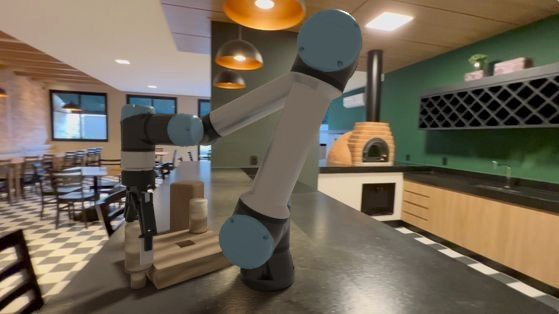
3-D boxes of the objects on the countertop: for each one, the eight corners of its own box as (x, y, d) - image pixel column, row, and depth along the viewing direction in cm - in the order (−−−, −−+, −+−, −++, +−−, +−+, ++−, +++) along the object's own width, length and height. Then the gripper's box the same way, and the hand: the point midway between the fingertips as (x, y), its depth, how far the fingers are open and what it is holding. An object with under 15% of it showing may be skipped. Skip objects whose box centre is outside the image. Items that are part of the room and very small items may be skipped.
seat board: (239, 262, 83) (240, 210, 82) (158, 289, 66) (158, 225, 65) (203, 239, 100) (203, 196, 99) (131, 256, 84) (131, 206, 83)
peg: (155, 286, 68) (155, 225, 67) (128, 295, 64) (127, 230, 63) (147, 276, 72) (147, 219, 71) (121, 284, 68) (121, 224, 67)
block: (192, 237, 103) (192, 184, 101) (168, 234, 105) (168, 183, 103) (204, 228, 112) (205, 181, 111) (182, 226, 114) (183, 179, 113)
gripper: (172, 173, 60) (172, 267, 61) (140, 164, 78) (140, 237, 79) (135, 175, 55) (136, 278, 56) (110, 165, 73) (111, 243, 74)
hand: (138, 254), depth 68 cm, fingers open, 12 cm apart
